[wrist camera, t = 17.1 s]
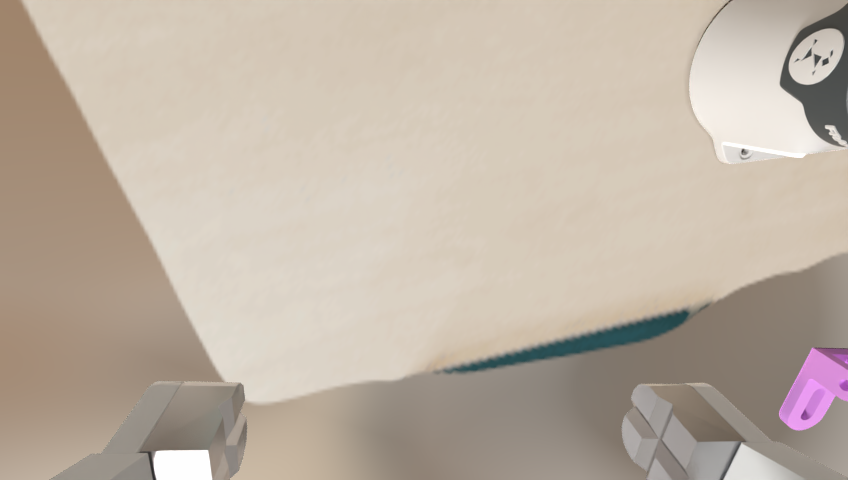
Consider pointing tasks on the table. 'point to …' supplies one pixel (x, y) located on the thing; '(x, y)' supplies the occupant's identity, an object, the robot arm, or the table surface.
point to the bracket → (816, 387)
